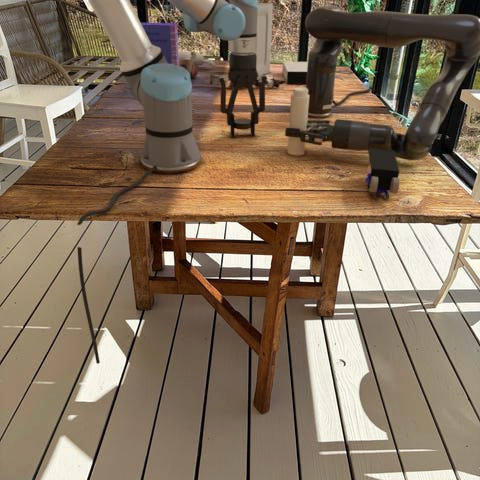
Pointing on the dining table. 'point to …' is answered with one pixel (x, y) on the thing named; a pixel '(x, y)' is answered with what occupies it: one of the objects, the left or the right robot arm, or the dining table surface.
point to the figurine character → (382, 172)
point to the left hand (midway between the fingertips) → (242, 135)
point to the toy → (198, 60)
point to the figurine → (268, 83)
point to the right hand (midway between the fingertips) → (287, 128)
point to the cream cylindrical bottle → (298, 119)
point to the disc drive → (295, 72)
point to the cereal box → (164, 39)
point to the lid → (242, 123)
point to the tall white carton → (264, 37)
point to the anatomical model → (190, 65)
